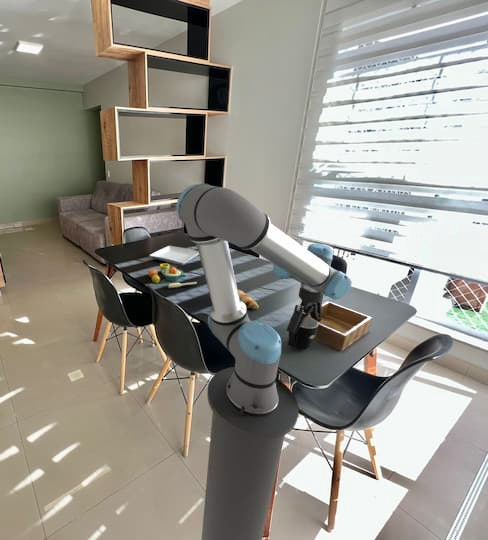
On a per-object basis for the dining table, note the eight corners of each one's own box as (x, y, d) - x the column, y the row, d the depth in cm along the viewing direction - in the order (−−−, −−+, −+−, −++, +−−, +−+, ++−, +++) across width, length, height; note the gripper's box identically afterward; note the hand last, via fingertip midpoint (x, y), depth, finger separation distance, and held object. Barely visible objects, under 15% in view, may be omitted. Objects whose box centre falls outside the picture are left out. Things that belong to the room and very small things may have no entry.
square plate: (148, 260, 200) (148, 254, 198) (169, 249, 221) (169, 245, 219) (182, 267, 185) (183, 262, 184) (201, 256, 206) (201, 250, 205)
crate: (341, 351, 105) (345, 336, 102) (297, 330, 118) (300, 315, 116) (367, 332, 116) (372, 317, 114) (324, 314, 129) (328, 301, 127)
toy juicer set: (141, 277, 172) (141, 265, 169) (165, 270, 182) (165, 258, 179) (172, 294, 150) (172, 280, 147) (197, 285, 160) (198, 272, 157)
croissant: (259, 314, 136) (265, 299, 136) (252, 313, 129) (258, 296, 128) (221, 299, 150) (226, 285, 150) (212, 297, 142) (217, 282, 142)
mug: (308, 355, 101) (313, 331, 97) (282, 345, 107) (286, 321, 103) (318, 340, 109) (324, 317, 105) (294, 331, 115) (298, 309, 111)
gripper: (319, 276, 109) (308, 325, 117) (281, 293, 96) (272, 346, 104) (340, 283, 103) (328, 334, 111) (303, 302, 90) (291, 358, 99)
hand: (301, 340), depth 108 cm, fingers closed on mug, 12 cm apart
